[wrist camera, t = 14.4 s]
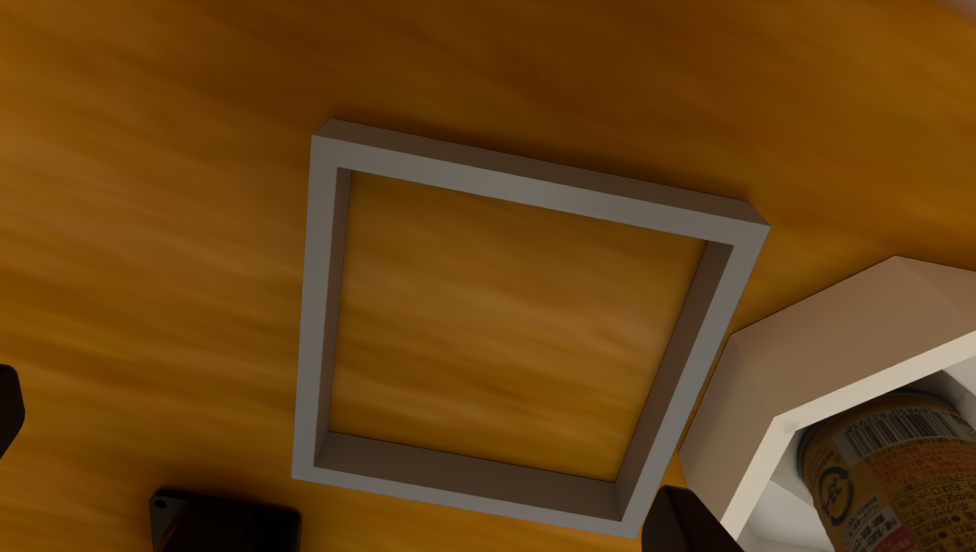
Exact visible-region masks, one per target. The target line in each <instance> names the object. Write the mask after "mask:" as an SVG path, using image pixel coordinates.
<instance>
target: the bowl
mask: <svg viewBox="0 0 976 552" xmlns="http://www.w3.org/2000/svg"><path fill="white" fill-rule="evenodd" d="M941 369H942V370H944V371H945V372H946V373H948V374H949V375H950V376H952V377H953V378H954V379H955V380H956V381H958V382H959V383H960V384H961V385H963V386H964V387H965V388H966V389H967V390H969V391H970V392H971V393H973V394H974V395H975V396H976V272H975V271H970V270H965V269H960V268H955V267H950V266H945V265H940V264H935V263H930V262H925V261H920V260H915V259H910V258H905V257H900V256H893V257H891V258H889V259H887V260H885V261H883V262H881V263H879V264H877V265H874V266H872V267H870V268H868V269H866V270H864V271H862V272H860V273H858V274H856V275H854V276H852V277H850V278H847V279H845V280H843V281H841V282H839V283H837V284H835V285H833V286H831V287H829V288H827V289H825V290H823V291H820V292H818V293H816V294H814V295H812V296H810V297H808V298H806V299H804V300H802V301H800V302H798V303H796V304H794V305H791V306H789V307H787V308H785V309H783V310H781V311H779V312H777V313H775V314H773V315H771V316H769V317H767V318H764V319H762V320H760V321H758V322H756V323H754V324H752V325H750V326H748V327H746V328H744V329H742V330H740V331H737V332H735V333H733V334H731V335H730V337H729V339H728V342H727V344H726V346H725V348H724V351H723V353H722V355H721V358H720V360H719V362H718V364H717V367H716V369H715V371H714V374H713V376H712V378H711V380H710V383H709V385H708V387H707V389H706V392H705V394H704V396H703V399H702V401H701V403H700V405H699V408H698V410H697V412H696V415H695V417H694V419H693V421H692V424H691V426H690V428H689V431H688V433H687V435H686V437H685V440H684V442H683V444H682V446H681V449H680V451H679V453H678V456H679V460H680V463H681V466H682V470H683V473H684V476H685V480H686V483H687V486H688V489H690V490H692V491H693V492H694V493H695V494H696V495H697V496H698V497H699V499H700V500H701V501H702V502H703V503H704V504H705V506H706V507H707V508H708V509H709V510H710V511H711V513H712V514H713V515H714V516H715V517H716V518H717V520H718V521H719V522H720V523H721V524H722V525H723V527H724V528H725V529H726V530H727V531H728V532H729V534H730V535H731V536H732V537H733V538H734V539H735V541H736V542H737V543H738V544H739V545H740V546H741V548H742V549H743V550H744V551H745V552H835V551H834V548H833V545H832V544H831V542H830V540H829V538H828V536H827V535H826V531H825V529H824V527H823V525H822V523H821V521H820V519H819V516H818V513H817V510H816V509H814V508H813V507H811V506H810V505H808V504H807V503H805V502H804V501H803V500H801V499H800V498H798V497H797V496H795V495H794V494H792V493H790V492H789V491H787V490H785V489H784V488H782V487H780V486H779V485H778V484H776V483H775V482H773V481H771V480H769V479H770V477H771V475H772V473H773V472H774V470H775V468H776V466H777V464H778V462H779V460H780V459H781V457H782V455H783V453H784V451H785V449H786V448H787V446H788V444H789V442H790V440H791V438H792V436H793V435H794V433H795V431H796V430H799V429H801V428H803V427H806V426H808V425H810V424H813V423H815V422H818V421H820V420H822V419H825V418H827V417H830V416H832V415H834V414H837V413H839V412H841V411H844V410H846V409H849V408H851V407H853V406H856V405H858V404H860V403H863V402H865V401H868V400H870V399H872V398H875V397H877V396H880V395H882V394H884V393H887V392H889V391H891V390H894V389H896V388H899V387H901V386H903V385H906V384H908V383H910V382H913V381H915V380H918V379H920V378H922V377H925V376H927V375H930V374H932V373H934V372H937V371H939V370H941Z"/></svg>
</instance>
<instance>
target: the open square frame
mask: <svg viewBox="0 0 976 552" xmlns="http://www.w3.org/2000/svg"><path fill="white" fill-rule="evenodd" d="M352 170H356V171H361V172H366V173H371V174H376V175H382V176H387V177H392V178H397V179H402V180H407V181H412V182H417V183H422V184H427V185H432V186H437V187H442V188H447V189H452V190H457V191H462V192H467V193H472V194H477V195H483V196H488V197H493V198H498V199H503V200H508V201H513V202H518V203H523V204H528V205H533V206H538V207H543V208H548V209H553V210H558V211H563V212H568V213H573V214H578V215H583V216H589V217H594V218H599V219H604V220H609V221H614V222H619V223H624V224H629V225H634V226H639V227H644V228H649V229H654V230H659V231H664V232H669V233H674V234H679V235H684V236H690V237H695V238H700V239H705V240H709V241H708V244H707V246H706V249H705V252H704V254H703V257H702V259H701V262H700V265H699V267H698V270H697V272H696V275H695V277H694V280H693V283H692V285H691V288H690V290H689V293H688V296H687V298H686V301H685V303H684V306H683V308H682V311H681V314H680V316H679V319H678V321H677V324H676V326H675V329H674V332H673V334H672V337H671V339H670V342H669V345H668V347H667V350H666V352H665V355H664V357H663V360H662V363H661V365H660V368H659V370H658V373H657V376H656V378H655V381H654V383H653V386H652V388H651V391H650V394H649V396H648V399H647V401H646V404H645V407H644V409H643V412H642V414H641V417H640V419H639V422H638V425H637V427H636V430H635V432H634V435H633V438H632V440H631V443H630V445H629V448H628V450H627V453H626V456H625V458H624V461H623V463H622V466H621V469H620V471H619V474H618V476H617V479H616V481H615V483H610V482H605V481H599V480H594V479H588V478H583V477H577V476H572V475H566V474H561V473H555V472H550V471H544V470H539V469H533V468H528V467H522V466H517V465H511V464H506V463H500V462H495V461H489V460H484V459H478V458H473V457H467V456H462V455H456V454H451V453H445V452H439V451H434V450H428V449H423V448H417V447H412V446H406V445H401V444H395V443H390V442H384V441H379V440H373V439H368V438H362V437H357V436H351V435H346V434H340V433H335V432H329V431H328V423H329V412H330V401H331V390H332V379H333V369H334V358H335V347H336V336H337V325H338V314H339V303H340V292H341V281H342V271H343V260H344V249H345V238H346V227H347V216H348V205H349V194H350V183H351V173H352ZM770 227H771V226H770V225H769V224H768V223H767V221H766V220H765V219H764V218H763V217H762V216H761V215H760V214H759V212H758V211H757V210H756V209H755V208H754V207H753V206H752V204H751V203H750V202H746V201H741V200H736V199H731V198H726V197H721V196H716V195H711V194H706V193H701V192H696V191H691V190H686V189H681V188H676V187H671V186H666V185H661V184H656V183H651V182H646V181H641V180H636V179H631V178H627V177H622V176H617V175H612V174H607V173H602V172H597V171H592V170H587V169H582V168H577V167H572V166H567V165H562V164H557V163H552V162H547V161H542V160H537V159H532V158H527V157H522V156H517V155H512V154H507V153H502V152H497V151H492V150H487V149H482V148H477V147H472V146H467V145H462V144H457V143H452V142H447V141H442V140H437V139H432V138H427V137H423V136H418V135H413V134H408V133H403V132H398V131H393V130H388V129H383V128H378V127H373V126H368V125H363V124H358V123H353V122H348V121H343V120H338V119H333V118H330V119H329V120H328V121H327V122H326V123H325V124H323V125H322V126H321V127H320V128H319V129H318V130H316V131H315V132H314V133H313V134H312V137H311V153H310V170H309V187H308V204H307V221H306V238H305V254H304V271H303V288H302V305H301V322H300V338H299V355H298V372H297V389H296V406H295V423H294V439H293V456H292V473H291V478H292V479H298V480H303V481H309V482H314V483H320V484H326V485H331V486H337V487H342V488H348V489H354V490H359V491H365V492H370V493H376V494H382V495H387V496H393V497H398V498H404V499H410V500H415V501H421V502H427V503H432V504H438V505H443V506H449V507H455V508H460V509H466V510H471V511H477V512H483V513H488V514H494V515H499V516H505V517H511V518H516V519H522V520H527V521H533V522H539V523H544V524H550V525H556V526H561V527H567V528H572V529H578V530H584V531H589V532H595V533H600V534H606V535H612V536H617V537H623V538H628V539H634V540H635V539H636V537H637V535H638V532H639V530H640V528H641V525H642V523H643V521H644V518H645V516H646V514H647V511H648V509H649V507H650V505H651V502H652V500H653V498H654V495H655V493H656V491H657V488H658V486H659V484H660V481H661V479H662V477H663V474H664V472H665V470H666V468H667V465H668V463H669V461H670V458H671V456H672V454H673V451H674V449H675V447H676V444H677V442H678V440H679V437H680V435H681V433H682V431H683V428H684V426H685V424H686V421H687V419H688V417H689V414H690V412H691V410H692V407H693V405H694V403H695V401H696V398H697V396H698V394H699V391H700V389H701V387H702V384H703V382H704V380H705V377H706V375H707V373H708V370H709V368H710V366H711V364H712V361H713V359H714V357H715V354H716V352H717V350H718V347H719V345H720V343H721V340H722V338H723V336H724V333H725V331H726V329H727V327H728V324H729V322H730V320H731V317H732V315H733V313H734V310H735V308H736V306H737V303H738V301H739V299H740V297H741V294H742V292H743V290H744V287H745V285H746V283H747V280H748V278H749V276H750V273H751V271H752V269H753V266H754V264H755V262H756V260H757V257H758V255H759V253H760V250H761V248H762V246H763V243H764V241H765V239H766V236H767V234H768V232H769V229H770Z"/></svg>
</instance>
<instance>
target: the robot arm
mask: <svg viewBox="0 0 976 552" xmlns="http://www.w3.org/2000/svg"><path fill="white" fill-rule="evenodd" d="M24 419H25V408H24V403H23V398H22V393H21V388H20V382H19V377H18V374H17V371H16V370H15V369H14V368H13V367H11V366H10V365H6V364H0V459H1V457H2V456H3V454H4V453H5V451H6V450H7V449H8V447H9V446H10V444H11V443H12V441H13V440H14V438H15V437H16V435H17V434H18V433H19V431H20V429H21V427H22V425H23V422H24ZM149 505H150V517H151V529H152V540H153V552H299V547H300V533H301V517H300V516H299V515H298V514H296V513H295V512H292V511H287V510H281V509H276V508H270V507H264V506H259V505H253V504H247V503H242V502H236V501H230V500H225V499H219V498H213V497H208V496H202V495H196V494H191V493H185V492H179V491H174V490H168V489H158V490H156V491H155V492H154V494H153V495H152V497H151V498H150V501H149ZM641 544H642V552H745V551H744V550H743V549H742V548H741V546H740V545H739V544H738V543H737V542H736V541H735V539H734V538H733V537H732V536H731V535H730V534H729V532H728V531H727V530H726V529H725V528H724V527H723V525H722V524H721V523H720V522H719V521H718V520H717V518H716V517H715V516H714V515H713V514H712V513H711V511H710V510H709V509H708V508H707V507H706V506H705V504H704V503H703V502H702V501H701V500H700V499H699V497H698V496H697V495H696V494H695V493H694V492H693V491H692V490H690V489H687V488H682V487H676V486H671V485H663V486H662V487H661V488H660V489H659V490H658V492H657V494H656V497H655V499H654V501H653V503H652V506H651V508H650V510H649V513H648V515H647V517H646V520H645V522H644V525H643V529H642V537H641Z"/></svg>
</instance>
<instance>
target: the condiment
mask: <svg viewBox="0 0 976 552" xmlns="http://www.w3.org/2000/svg"><path fill="white" fill-rule="evenodd" d="M769 480H771V481H773V482H775V483H776V484H778V485H779V486H780V487H782V488H784V489H785V490H787V491H789V492H790V493H792V494H794V495H795V496H797V497H798V498H800V499H801V500H803V501H804V502H805V503H807V504H808V505H810V506H811V507H813V508H814V509H816V510H817V513H818V516H819V519H820V521H821V523H822V525H823V527H824V529H825V531H826V535H827V536H828V538H829V540H830V542H831V544H832V545H833V548H834V551H835V552H976V396H975V395H974V394H973V393H971V392H970V391H969V390H967V389H966V388H965V387H964V386H963V385H961V384H960V383H959V382H958V381H956V380H955V379H954V378H953V377H952V376H950V375H949V374H948V373H946V372H945V371H944V370H942V369H941V370H939V371H937V372H934V373H932V374H930V375H927V376H925V377H922V378H920V379H918V380H915V381H913V382H910V383H908V384H906V385H903V386H901V387H899V388H896V389H894V390H891V391H889V392H887V393H884V394H882V395H880V396H877V397H875V398H872V399H870V400H868V401H865V402H863V403H860V404H858V405H856V406H853V407H851V408H849V409H846V410H844V411H841V412H839V413H837V414H834V415H832V416H830V417H827V418H825V419H822V420H820V421H818V422H815V423H813V424H810V425H808V426H806V427H803V428H801V429H799V430H796V431H795V433H794V435H793V436H792V438H791V440H790V442H789V444H788V446H787V448H786V449H785V451H784V453H783V455H782V457H781V459H780V460H779V462H778V464H777V466H776V468H775V470H774V472H773V473H772V475H771V477H770V479H769Z"/></svg>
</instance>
